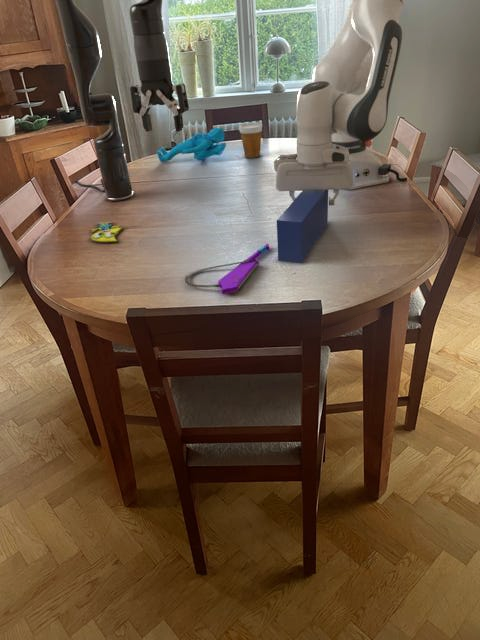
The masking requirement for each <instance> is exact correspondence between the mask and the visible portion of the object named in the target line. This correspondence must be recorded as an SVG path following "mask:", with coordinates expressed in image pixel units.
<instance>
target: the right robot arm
mask: <svg viewBox="0 0 480 640" xmlns="http://www.w3.org/2000/svg"><path fill="white" fill-rule="evenodd" d="M404 3H405V0H351V3H350V5H349V9H348V12H347V14H346V17H345V20H344V23H343V25H342V26H341V27H342V28H341V29H340V31H339V33H338V34H337V36H336V39H335V40H334V41H333V43H332V45H331V47H330V48H329V49H328V51H327V53H326V54H325V56H324V57H323V58H322V59H321V60H320V61H319V62H318V63H317V64H316V66H315V67H314V69H313V74H312V81H313V82H309V83H307V84H305V85H303V87H301V88H300V89H299V92H298V94H297V100H296V113H295V115H296V116H295V117H296V121H295V122H296V127H297V137H296V153H289V154H279V156H276V157H275V159H274V160H273V170H274V171H275V172H276V176H275V189H276V190H277V191H278V192H288V193H289V194H288V195H289V197H290V198H291V200H292V202H293V201H294V200H295V199H296V197H297V196H295V192H302V191H306V190H328V191H329V190H332V191H333V194H332V196H330V197H329V196H328V206H335V200H336V199H337V198H338V196H339V194H340V190H356V189H361V188H366V187H371V186H376V185H380V184H385V183H389V182H390V176H389V175H388V174H389V173H391V174H392V173H393V174H394V175H395V179H396V181H399V182H405V181H408V176H407V177H400V173H399V172H398V171H397V170H395V169H392V164H391V163H382V161H381V159H380V158H379V157H377V156H376V155H375V154H373V152H371V151H370V150H368V148H370V147H371V146H373V141H372V140H373V139H374V138H376V137H377V136H378V135H380V133H381V132H382V131H383V130H384V128H385V126H386V123H387V120H388V113H389V101H390V96H391V92H392V88H393V84H394V78H395V75H396V70H397V66H398V62H399V57H400V53H401V48H402V42H403V29H402V26H401V25H400V17H401V12H402V9H403V5H404ZM371 49H372V52H371V51H370V50H371Z"/></svg>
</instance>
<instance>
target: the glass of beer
mask: <svg viewBox="0 0 480 640" xmlns="http://www.w3.org/2000/svg"><path fill="white" fill-rule="evenodd" d="M262 131H263V126H262V124H261V123H245V124H241V125H240V126H239V133H240V137H241V142H242V147H243V152H244V157H245V158H248V159H249V158H251V159H252V158H253V159H254V158H258V157H260V156H261V144H262Z"/></svg>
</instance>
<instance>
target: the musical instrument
mask: <svg viewBox="0 0 480 640" xmlns="http://www.w3.org/2000/svg"><path fill="white" fill-rule="evenodd" d="M269 250H270V244H269V243H266V244H265V245H263V246H261V247H260V248H259V249H257V250H256V252H254V253H253V254H251V255H250V256H248V258H246V259H244V260H243V261H237V262H231V263H225V264H221V265H216V266H210V267H205V268H201V269H199V270H197V271H194V272H192V273H190V274H189V275H186V276H185V278H184V282H185V284H187V285H189V286H191V287H195V288H214V287H215V288H220V291H221V294H222V295H225V294H231V293H235V292H238V291H239V289H240V287H242V285H243V284H244V282H245V281H246V280H247V278H248V277H250V275H251V274H252V272H253V271H254V270H255V269H256V267H257V266H258V265H259V264H260V261H259V260H258V259H257V258H258V257H260V256H261V255H263V254H264V253H265V252H266V251H269ZM234 265H237V266H235V267H234V268H233V269H231V270H230V271H228V273H226V275H224V276H223V277H221V278H220V279H219V280H218V281H217V284H195V283H191V282H190V281H189V278H190V277H192V276H194V275H195V274H198V273H200V272H203V271H206V270H211V269H216V268H221V267H222V268H223V267H226V266H227V267H228V266H234Z"/></svg>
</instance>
